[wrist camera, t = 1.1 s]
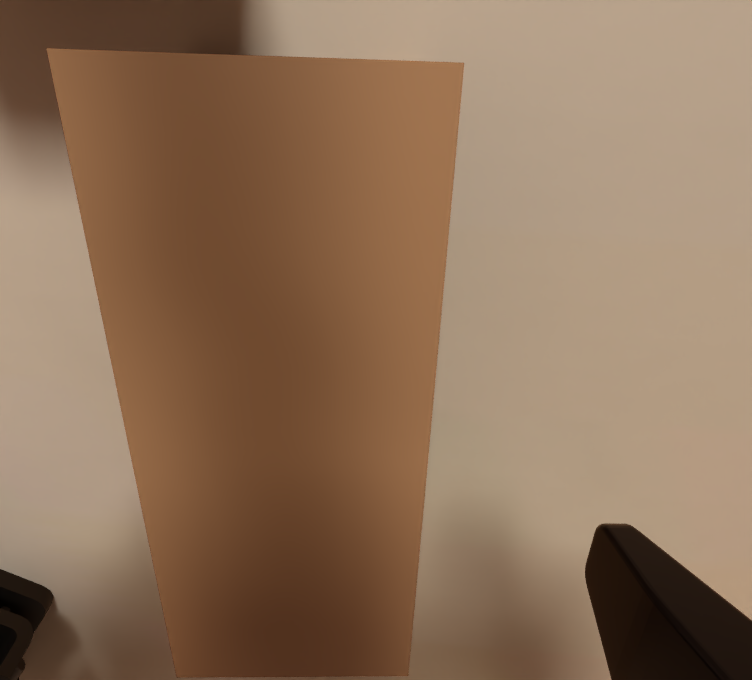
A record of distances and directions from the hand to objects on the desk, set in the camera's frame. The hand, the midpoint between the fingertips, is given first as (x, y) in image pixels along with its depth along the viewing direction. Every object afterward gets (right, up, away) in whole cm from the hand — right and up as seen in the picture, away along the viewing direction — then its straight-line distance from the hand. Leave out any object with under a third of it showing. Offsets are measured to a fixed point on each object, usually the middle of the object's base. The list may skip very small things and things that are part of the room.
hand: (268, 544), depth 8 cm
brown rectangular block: (0, +4, +7) cm, 8 cm away
